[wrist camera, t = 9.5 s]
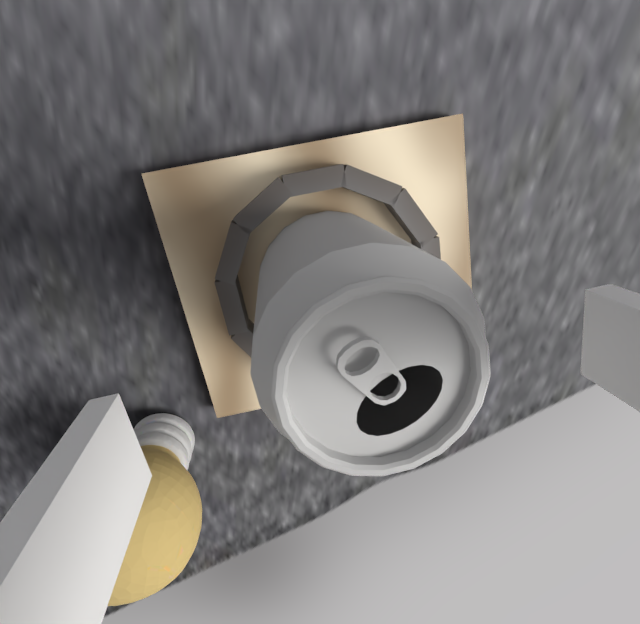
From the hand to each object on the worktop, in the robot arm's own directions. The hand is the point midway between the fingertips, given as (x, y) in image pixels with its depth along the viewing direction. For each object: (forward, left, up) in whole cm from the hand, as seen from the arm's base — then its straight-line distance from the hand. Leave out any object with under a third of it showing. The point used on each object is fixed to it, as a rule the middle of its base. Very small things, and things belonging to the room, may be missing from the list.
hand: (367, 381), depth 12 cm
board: (0, 0, -13) cm, 13 cm away
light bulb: (-11, -8, -13) cm, 19 cm away
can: (0, 0, -12) cm, 12 cm away
